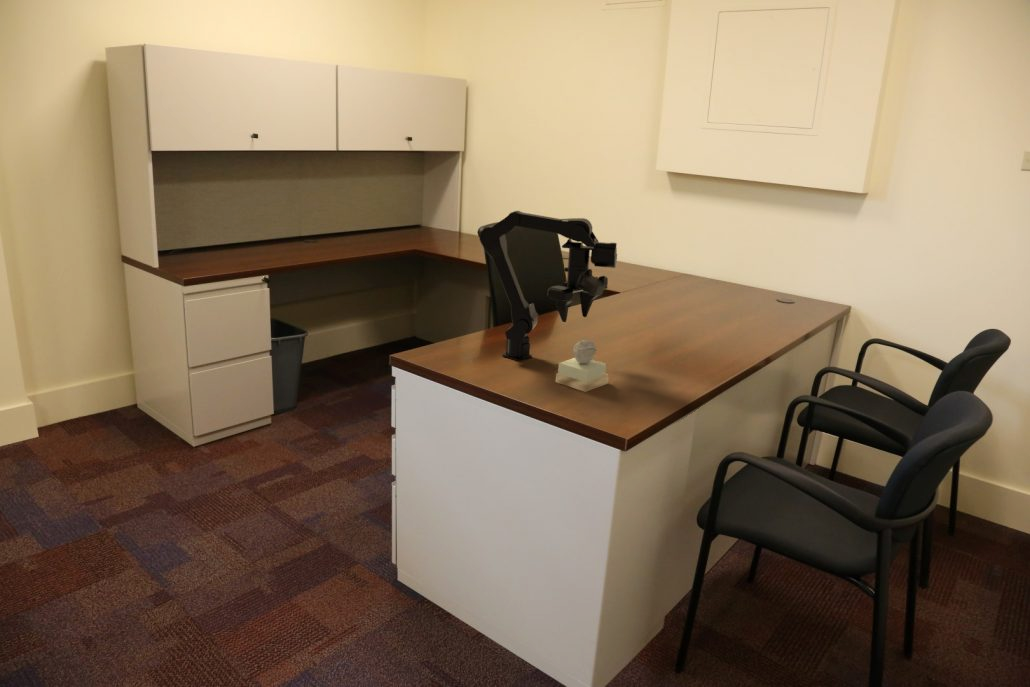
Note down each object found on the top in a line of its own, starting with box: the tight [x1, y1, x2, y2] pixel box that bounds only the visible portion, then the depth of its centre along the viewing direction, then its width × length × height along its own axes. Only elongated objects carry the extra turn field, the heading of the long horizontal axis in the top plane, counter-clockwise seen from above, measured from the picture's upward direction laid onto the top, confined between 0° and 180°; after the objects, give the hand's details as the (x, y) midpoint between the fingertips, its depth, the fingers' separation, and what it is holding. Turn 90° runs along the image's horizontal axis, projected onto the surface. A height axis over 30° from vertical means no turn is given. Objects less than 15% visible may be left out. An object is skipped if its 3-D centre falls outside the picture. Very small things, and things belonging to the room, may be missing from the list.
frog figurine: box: [572, 338, 597, 364], centre depth 189 cm, size 6×7×7 cm
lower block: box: [555, 372, 610, 393], centre depth 191 cm, size 10×10×3 cm
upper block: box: [557, 357, 607, 382], centre depth 190 cm, size 9×9×3 cm
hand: (574, 319), depth 204 cm, fingers open, 9 cm apart
